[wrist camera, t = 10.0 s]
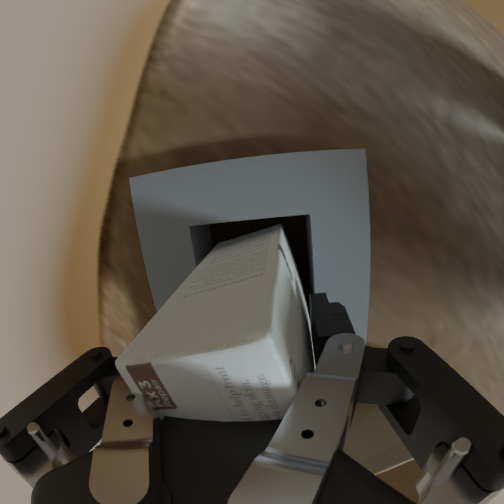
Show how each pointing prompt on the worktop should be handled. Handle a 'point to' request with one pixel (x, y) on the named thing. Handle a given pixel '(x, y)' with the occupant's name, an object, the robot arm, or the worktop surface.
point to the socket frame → (257, 207)
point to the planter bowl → (382, 450)
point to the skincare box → (228, 336)
